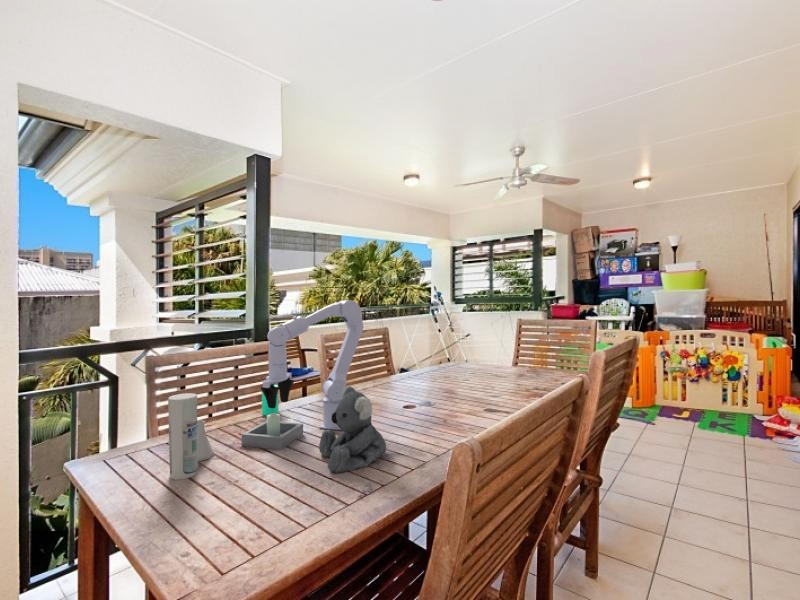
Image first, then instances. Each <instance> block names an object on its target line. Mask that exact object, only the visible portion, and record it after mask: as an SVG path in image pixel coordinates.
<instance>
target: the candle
mask: <svg viewBox="0 0 800 600" xmlns="http://www.w3.org/2000/svg"><path fill="white" fill-rule="evenodd" d="M274 386H275V387H278V384H274ZM271 413H276V414H279V392H278V393H277V399H276V407H275V408H269V407H268V404H267V400H266V397H265V395H264V393H263V392H262V391H261V415H263V416H267V415H270V414H271Z"/></svg>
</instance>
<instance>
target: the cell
mask: <svg viewBox="0 0 800 600" xmlns="http://www.w3.org/2000/svg"><path fill="white" fill-rule="evenodd" d="M266 421H267V435H272V436H280V422H281V414H280V413H277V414H276V413H271V414H270V415H266Z"/></svg>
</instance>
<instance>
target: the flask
mask: <svg viewBox="0 0 800 600" xmlns="http://www.w3.org/2000/svg"><path fill="white" fill-rule="evenodd" d="M206 423H207V422H206V421H204V420H197V460H198V462H202V461H205V460H208V459H211V457H213V456H214V455H215V453H214V450H213V448H212V446H211V443H210V441H209V440H208V439H209V438H208V437H207V433H206V429H205V426H206V425H205V424H206Z"/></svg>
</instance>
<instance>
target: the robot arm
mask: <svg viewBox="0 0 800 600" xmlns="http://www.w3.org/2000/svg"><path fill="white" fill-rule="evenodd" d="M329 317H338V318H339V317H340V318H341V319H342V320H343V322H344V323H345V325H346V327H347V331H346V333H345V335H344V339H343V341H342V344H341V346H340V350H339V352H338V355H337V358H336V360H335V363H334V365H333V368H332V370H331V372H330V373H329V375H328V378H327V379H326V380H325V381H324V382H323V383H322V386H321V388H322V389H321V390H322V392H323V394H324V397H323V399H322V405H323V406H322V408H323V409H322V412H323V414H322V417H323V423H322V424H320V425H319V426H318V428H319V429H324V430H325V429H326V430H338V431H342V430H341V429H340V428H339V427H338V425H337V424H334V423H333V422H332V419H331V417H332V414H333V413H334V412H335V411H336V409H337V406H338V405H339V403H340V402H341V400H342V398H343V397H342V392H343V389H344V388H345V387H347V386H346V385H347V383H348V382H347V376H348V372H349V370H350V367H351V365H352V360H353V358H354V355H355V353H356V350H357V347H358V344H359V342H360V339H361V336H362V333H363V330H364V322H363V316H362V308H361V307H360V305H359V303H358V302H356V301H355V300H352V299H350V300H349V299H341V300H339V301H336V302H334V303H331V304H328V305H327V306H325V307H323V308H321V309H319V310H316V311H315V312H313V313H310V314H308V315H307V316H306V317H304V316H301V315H299V316H296V315H295V316H293V317H292V318H291V319H290V320H289V321H286V322H284V323H282V322H281V323H279V324H278V325H279V326H275V327H274V326H273V327H272V328H271V329H269V331H268V332H267V336H266V337H267V340H268V342H269V343H268V352H267V353H268V375H267V376H266V377H265V380H263V381H262V385H261V387H260V390H261V393H262V392H263V393H264V395H265V397H266V400H267V404H268V407H269V408H275V407H276V399H277V393H278V394H279V399H280V402H281V403H287V402H288V401H289V396H290V393H291V389H292V387H293V384H294V381H295V380H294V379H292V372H288V370H287V369H288V368H287V367H288V366H287V365H288V364H287V362H288V361H287V350H288V349H287V345H286V344H287V341H288V340H292V339H294V338H296V337H299V336H301V335H303V334H304V333H306V332H308V331H309V328H310V326H313V325H315V324H317V323H319V322H321V321H323V320H325V319H327V318H329ZM274 385H277V386H278V387H275V386H274Z"/></svg>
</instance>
